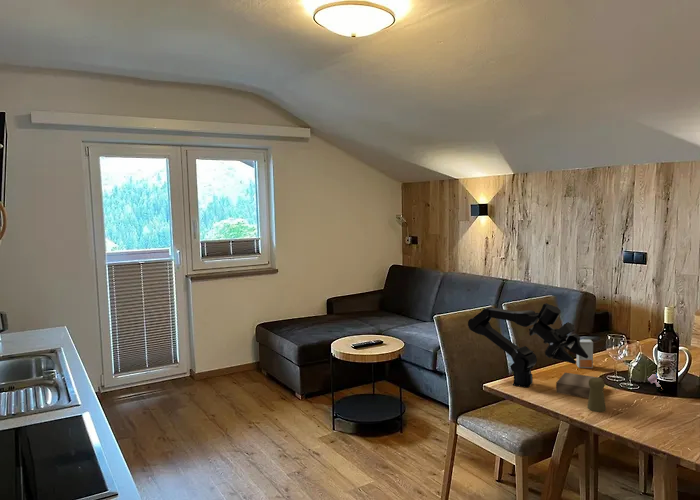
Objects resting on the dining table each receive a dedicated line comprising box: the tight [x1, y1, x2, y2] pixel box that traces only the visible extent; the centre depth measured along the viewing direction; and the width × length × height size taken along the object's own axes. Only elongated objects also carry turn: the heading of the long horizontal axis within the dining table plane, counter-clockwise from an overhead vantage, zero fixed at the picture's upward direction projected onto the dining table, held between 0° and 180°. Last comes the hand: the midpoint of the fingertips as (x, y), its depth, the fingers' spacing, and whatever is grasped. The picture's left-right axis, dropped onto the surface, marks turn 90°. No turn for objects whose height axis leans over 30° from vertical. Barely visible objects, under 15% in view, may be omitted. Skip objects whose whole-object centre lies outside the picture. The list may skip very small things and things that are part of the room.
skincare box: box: [575, 339, 594, 369], centre depth 230 cm, size 6×4×12 cm
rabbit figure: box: [647, 372, 663, 390], centre depth 205 cm, size 6×6×15 cm
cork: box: [586, 377, 607, 413], centre depth 184 cm, size 6×6×11 cm
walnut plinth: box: [555, 372, 603, 399], centre depth 203 cm, size 14×14×4 cm
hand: (581, 360), depth 191 cm, fingers open, 9 cm apart
